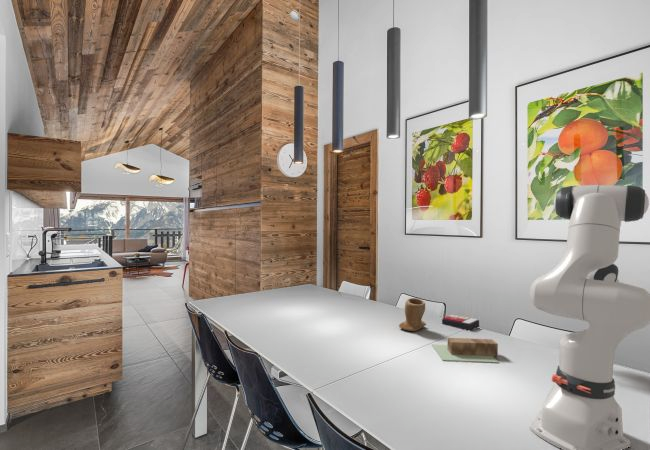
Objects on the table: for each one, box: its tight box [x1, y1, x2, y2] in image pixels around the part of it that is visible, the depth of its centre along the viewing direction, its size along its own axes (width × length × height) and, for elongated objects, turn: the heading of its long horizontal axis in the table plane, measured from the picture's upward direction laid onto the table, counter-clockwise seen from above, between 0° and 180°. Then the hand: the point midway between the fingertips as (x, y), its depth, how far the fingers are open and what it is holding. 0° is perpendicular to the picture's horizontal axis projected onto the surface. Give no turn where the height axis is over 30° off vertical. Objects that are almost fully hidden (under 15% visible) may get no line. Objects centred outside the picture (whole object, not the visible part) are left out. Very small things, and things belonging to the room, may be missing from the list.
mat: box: [431, 343, 500, 364], centre depth 134 cm, size 21×16×1 cm
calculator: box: [441, 314, 480, 332], centre depth 172 cm, size 11×4×15 cm
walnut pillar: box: [447, 337, 499, 357], centre depth 134 cm, size 5×5×18 cm
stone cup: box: [398, 297, 427, 332], centre depth 165 cm, size 15×12×15 cm
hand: (536, 296), depth 129 cm, fingers closed
